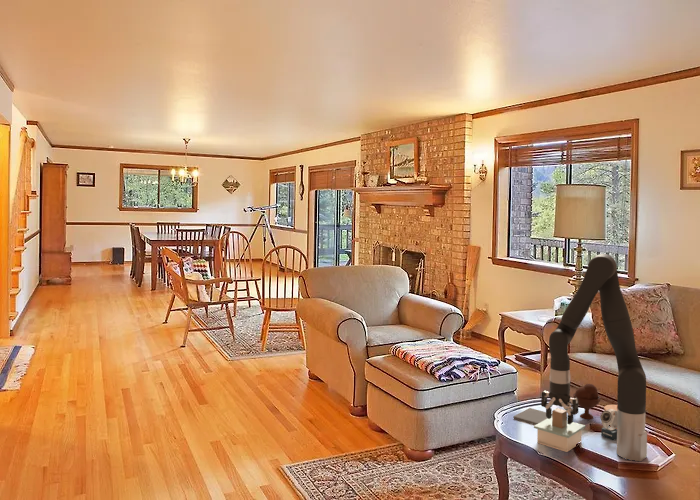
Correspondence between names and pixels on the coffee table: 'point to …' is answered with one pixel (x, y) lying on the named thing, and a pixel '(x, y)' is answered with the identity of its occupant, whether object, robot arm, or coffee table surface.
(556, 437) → the cream open storage box
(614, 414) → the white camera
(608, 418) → the watch
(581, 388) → the ice cream bowl
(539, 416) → the mat
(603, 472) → the coffee table surface
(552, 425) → the lid
